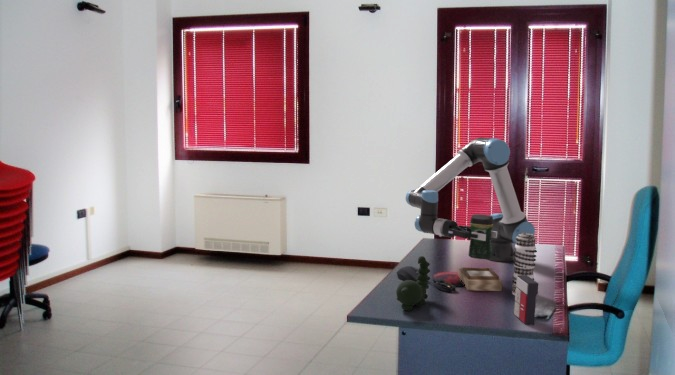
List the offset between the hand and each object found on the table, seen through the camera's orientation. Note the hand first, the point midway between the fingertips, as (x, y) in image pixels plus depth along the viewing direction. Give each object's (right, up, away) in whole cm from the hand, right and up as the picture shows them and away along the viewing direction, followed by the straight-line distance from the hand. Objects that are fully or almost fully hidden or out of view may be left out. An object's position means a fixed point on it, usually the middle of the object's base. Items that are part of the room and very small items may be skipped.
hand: (491, 236), depth 268 cm
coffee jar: (-4, -10, +5) cm, 11 cm away
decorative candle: (+11, -23, -8) cm, 27 cm away
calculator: (+2, -27, -39) cm, 48 cm away
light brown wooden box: (-4, -21, +6) cm, 22 cm away
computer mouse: (-27, -21, +5) cm, 35 cm away
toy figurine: (-36, -25, -26) cm, 51 cm away
